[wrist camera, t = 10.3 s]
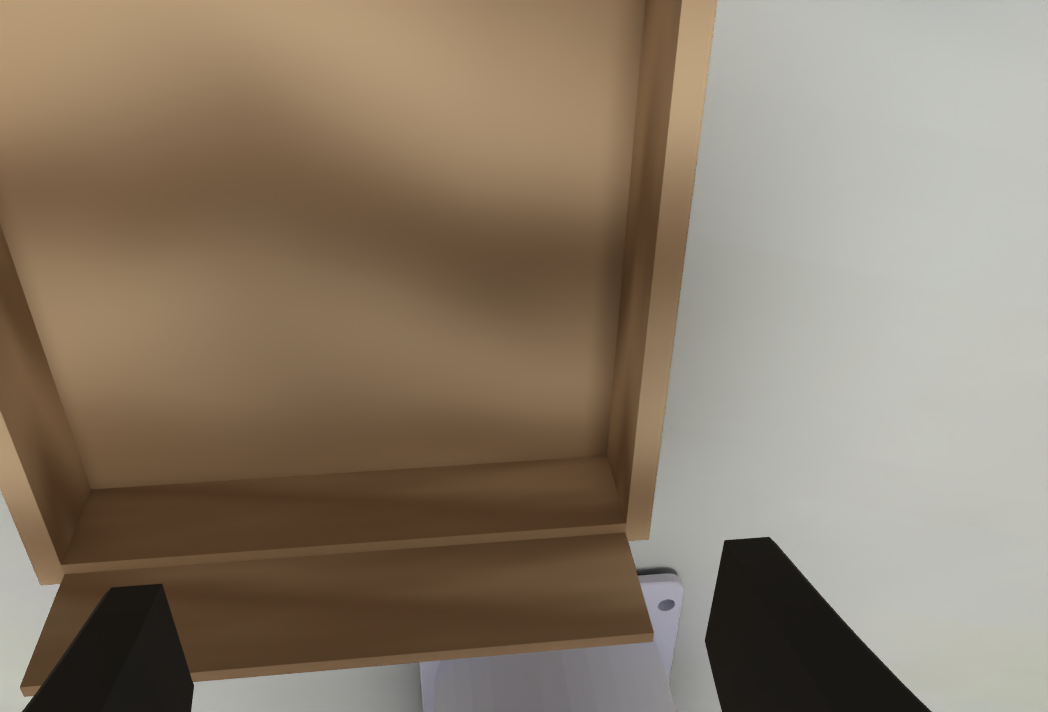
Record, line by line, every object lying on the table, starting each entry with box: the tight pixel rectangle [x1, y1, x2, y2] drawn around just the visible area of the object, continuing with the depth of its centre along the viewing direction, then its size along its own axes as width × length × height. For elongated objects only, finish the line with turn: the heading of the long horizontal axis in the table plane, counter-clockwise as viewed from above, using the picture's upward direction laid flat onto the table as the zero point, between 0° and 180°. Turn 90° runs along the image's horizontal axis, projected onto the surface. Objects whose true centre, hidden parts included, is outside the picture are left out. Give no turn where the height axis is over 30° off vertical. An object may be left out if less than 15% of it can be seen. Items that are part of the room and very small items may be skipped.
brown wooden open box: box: [0, 0, 717, 697], centre depth 17 cm, size 15×14×6 cm
